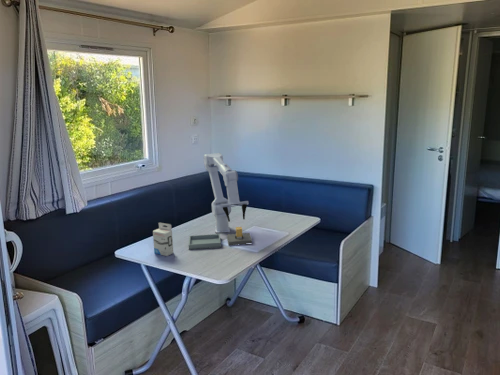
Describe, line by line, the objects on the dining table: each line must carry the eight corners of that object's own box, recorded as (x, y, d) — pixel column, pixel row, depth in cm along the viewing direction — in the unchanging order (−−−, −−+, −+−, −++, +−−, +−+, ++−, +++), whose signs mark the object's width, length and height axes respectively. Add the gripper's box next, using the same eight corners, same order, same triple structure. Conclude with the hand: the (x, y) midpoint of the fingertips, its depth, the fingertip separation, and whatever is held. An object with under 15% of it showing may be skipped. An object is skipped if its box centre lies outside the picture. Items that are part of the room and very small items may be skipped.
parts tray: (189, 240, 233) (189, 235, 233) (219, 238, 235) (219, 233, 234) (188, 249, 220) (188, 244, 219) (220, 247, 221) (220, 242, 221)
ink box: (153, 253, 216) (151, 225, 213) (160, 250, 220) (158, 222, 217) (167, 256, 212) (165, 227, 208) (174, 253, 216) (172, 224, 213)
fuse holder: (227, 237, 235) (227, 234, 235) (249, 236, 237) (249, 232, 236) (228, 245, 224) (228, 241, 223) (252, 244, 225) (251, 240, 224)
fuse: (236, 239, 232) (235, 227, 230) (241, 239, 232) (241, 226, 231) (236, 242, 228) (236, 229, 227) (242, 242, 228) (242, 229, 227)
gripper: (219, 196, 222) (222, 222, 222) (247, 192, 224) (251, 218, 223) (218, 196, 229) (222, 222, 229) (246, 192, 231) (250, 218, 230)
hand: (236, 220), depth 227 cm, fingers open, 7 cm apart
